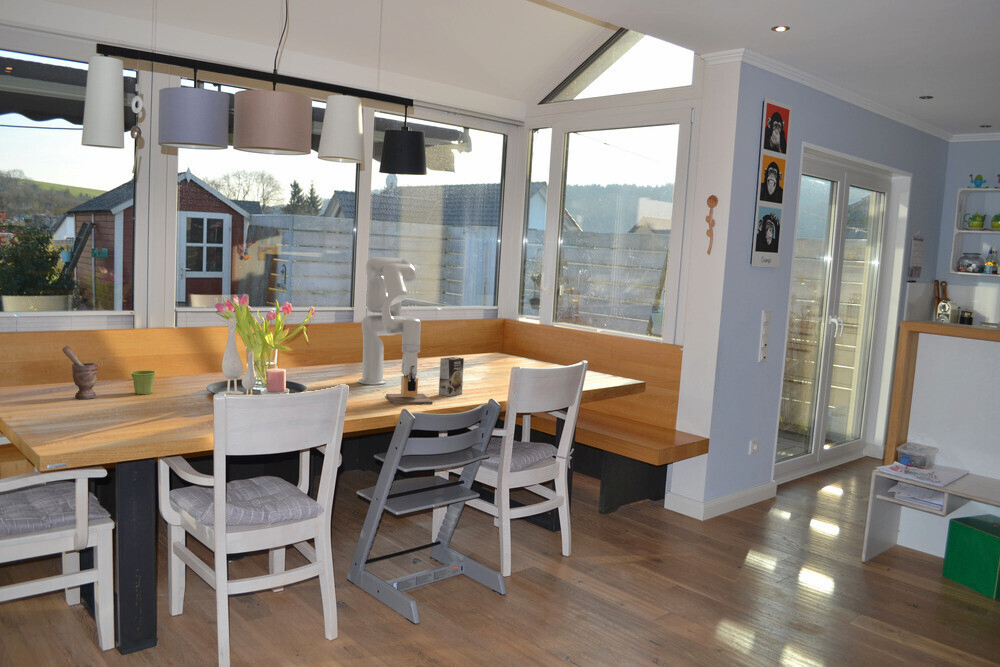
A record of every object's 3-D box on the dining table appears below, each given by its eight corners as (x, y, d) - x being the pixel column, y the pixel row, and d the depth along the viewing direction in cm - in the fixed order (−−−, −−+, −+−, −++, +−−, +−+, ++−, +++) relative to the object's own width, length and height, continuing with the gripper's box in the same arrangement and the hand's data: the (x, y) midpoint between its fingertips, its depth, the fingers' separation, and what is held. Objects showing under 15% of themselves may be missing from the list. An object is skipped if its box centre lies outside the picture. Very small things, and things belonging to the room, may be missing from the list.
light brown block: (400, 394, 323) (401, 376, 322) (414, 394, 325) (415, 376, 324) (403, 396, 318) (404, 378, 317) (417, 396, 319) (417, 378, 319)
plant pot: (137, 396, 302) (137, 374, 301) (125, 393, 308) (125, 371, 307) (160, 393, 310) (160, 372, 309) (148, 390, 315) (148, 369, 315)
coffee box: (449, 396, 334) (450, 359, 332) (438, 394, 338) (439, 358, 336) (462, 394, 341) (464, 358, 339) (451, 391, 345) (453, 356, 343)
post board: (386, 396, 327) (386, 375, 326) (423, 395, 332) (423, 375, 331) (393, 404, 310) (394, 382, 309) (432, 404, 315) (433, 382, 314)
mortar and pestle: (64, 401, 288) (63, 348, 286) (62, 396, 295) (61, 345, 293) (99, 399, 295) (98, 347, 292) (96, 395, 302) (95, 344, 300)
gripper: (398, 345, 326) (396, 385, 328) (405, 351, 310) (404, 392, 312) (415, 345, 328) (413, 384, 330) (424, 351, 312) (422, 392, 314)
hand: (409, 388), depth 321 cm, fingers open, 9 cm apart
